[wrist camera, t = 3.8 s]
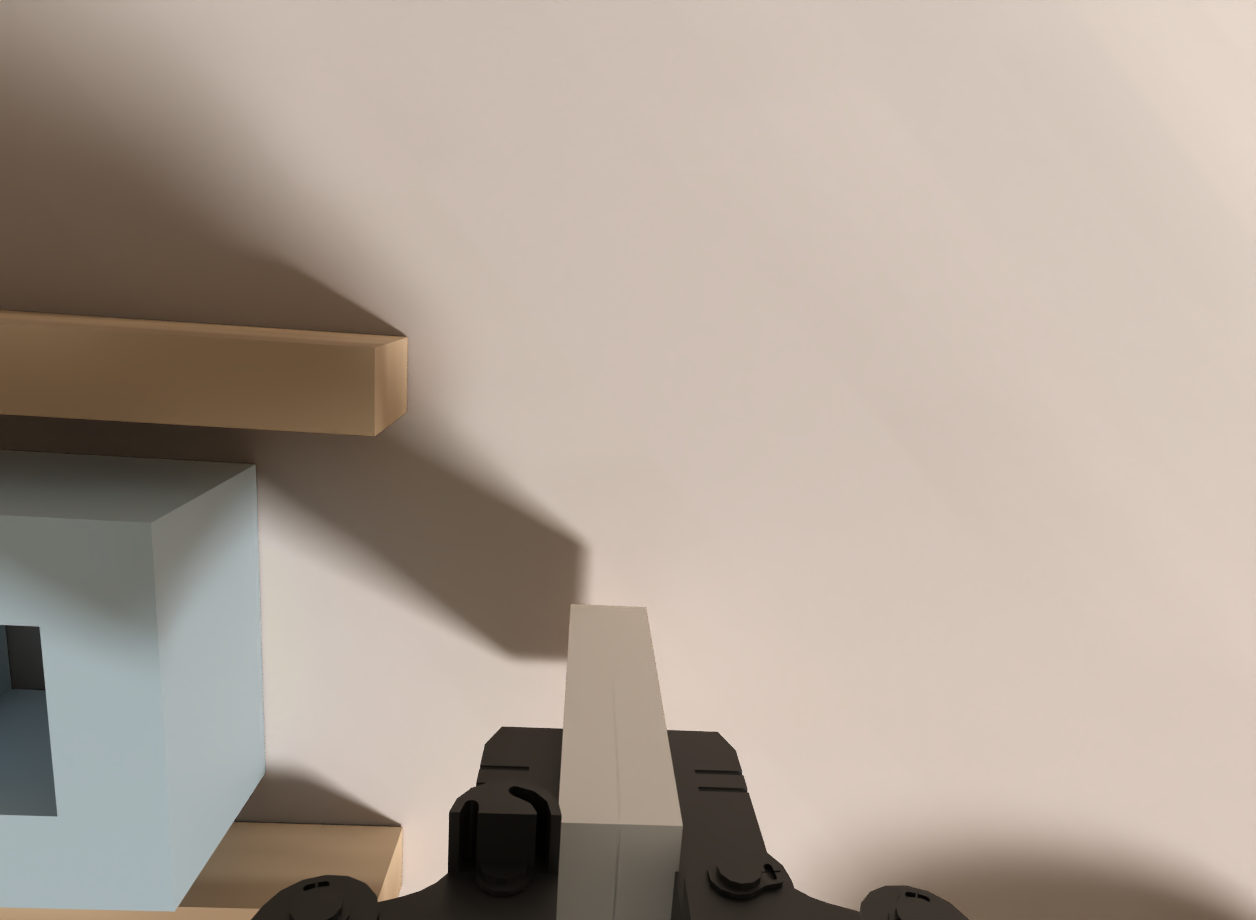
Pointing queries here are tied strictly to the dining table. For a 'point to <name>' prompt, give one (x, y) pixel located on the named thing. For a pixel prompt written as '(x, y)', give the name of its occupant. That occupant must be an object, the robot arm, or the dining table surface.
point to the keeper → (126, 675)
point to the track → (234, 398)
